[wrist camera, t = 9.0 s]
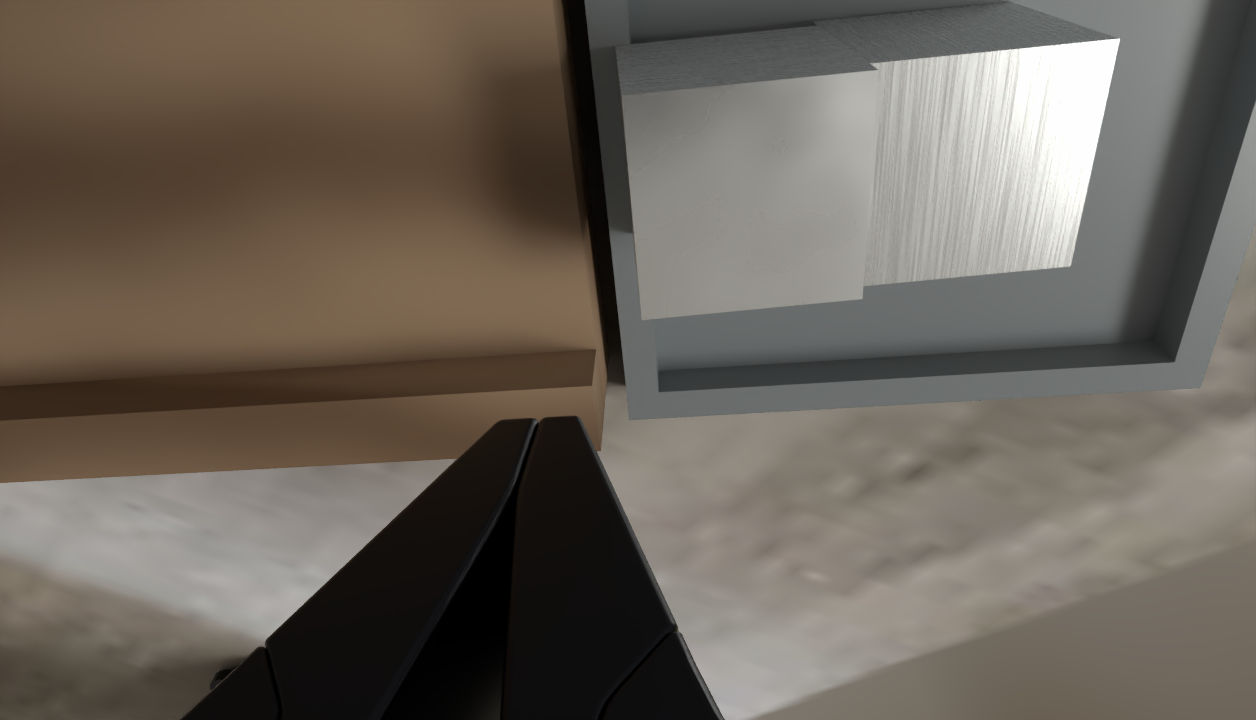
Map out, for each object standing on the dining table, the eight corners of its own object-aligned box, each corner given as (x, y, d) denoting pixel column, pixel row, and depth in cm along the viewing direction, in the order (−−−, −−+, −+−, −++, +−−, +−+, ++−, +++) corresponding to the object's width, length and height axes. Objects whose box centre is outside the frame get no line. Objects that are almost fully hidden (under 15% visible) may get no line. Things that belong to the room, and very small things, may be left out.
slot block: (609, 356, 22) (600, 451, 18) (38, 392, 23) (-69, 486, 19) (545, -183, 15) (514, -193, 12) (-238, -99, 17) (-467, -86, 13)
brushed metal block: (812, 216, 18) (862, 299, 15) (632, 233, 18) (641, 320, 15) (817, 25, 16) (878, 69, 13) (615, 45, 16) (621, 95, 13)
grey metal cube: (806, 208, 19) (982, 191, 19) (854, 286, 15) (1071, 266, 15) (811, 21, 16) (1010, 1, 16) (869, 63, 13) (1119, 38, 13)
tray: (1167, 356, 21) (1200, 387, 20) (630, 387, 22) (629, 420, 21) (1378, -343, 14) (1452, -364, 13) (564, -251, 15) (556, -261, 14)
